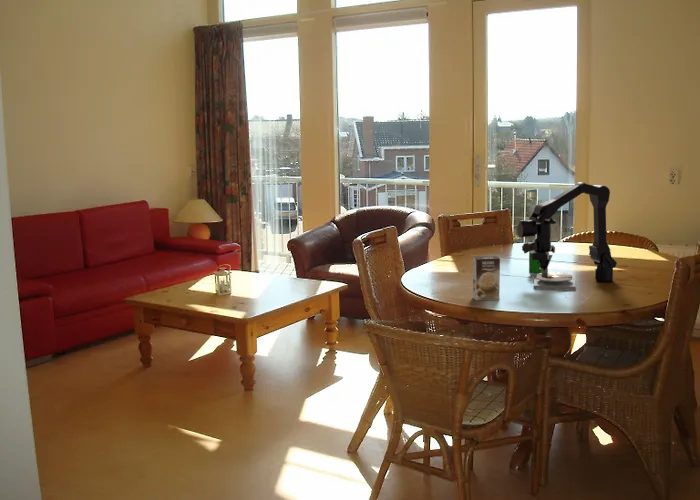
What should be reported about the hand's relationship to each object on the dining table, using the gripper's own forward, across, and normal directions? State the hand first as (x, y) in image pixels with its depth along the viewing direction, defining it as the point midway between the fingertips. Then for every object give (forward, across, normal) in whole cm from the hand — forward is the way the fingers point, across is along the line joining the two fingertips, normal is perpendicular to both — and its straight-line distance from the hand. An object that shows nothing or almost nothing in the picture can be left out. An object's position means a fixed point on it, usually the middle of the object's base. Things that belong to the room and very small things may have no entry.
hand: (543, 273), depth 303 cm
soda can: (+6, -19, -6) cm, 20 cm away
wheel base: (+5, -1, +4) cm, 7 cm away
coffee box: (+5, +29, -17) cm, 33 cm away
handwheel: (+2, -1, +4) cm, 5 cm away
